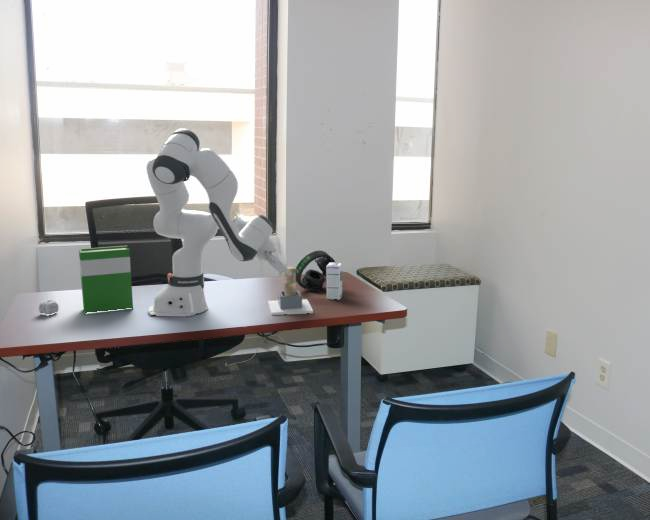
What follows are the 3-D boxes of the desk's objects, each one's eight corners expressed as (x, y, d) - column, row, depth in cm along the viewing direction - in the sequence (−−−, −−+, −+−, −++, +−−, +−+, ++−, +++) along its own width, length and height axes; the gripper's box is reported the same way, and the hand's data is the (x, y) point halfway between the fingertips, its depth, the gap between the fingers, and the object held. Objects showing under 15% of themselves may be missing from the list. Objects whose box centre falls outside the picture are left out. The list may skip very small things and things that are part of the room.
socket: (271, 315, 237) (271, 300, 235) (268, 303, 252) (267, 288, 251) (313, 313, 239) (313, 298, 238) (307, 301, 255) (307, 287, 253)
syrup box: (340, 300, 257) (340, 265, 254) (325, 299, 258) (326, 265, 255) (342, 296, 263) (342, 262, 260) (328, 295, 264) (328, 262, 261)
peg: (285, 299, 242) (285, 269, 239) (284, 296, 246) (284, 266, 243) (295, 298, 243) (295, 268, 240) (294, 296, 246) (294, 266, 244)
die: (59, 313, 237) (58, 300, 236) (48, 317, 233) (47, 304, 232) (50, 311, 240) (49, 299, 238) (39, 315, 235) (37, 302, 234)
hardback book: (130, 304, 249) (126, 245, 244) (133, 309, 243) (129, 249, 238) (83, 309, 242) (78, 249, 237) (84, 314, 236) (79, 252, 231)
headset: (330, 303, 282) (294, 286, 259) (313, 285, 290) (277, 267, 267) (355, 273, 280) (322, 253, 257) (338, 256, 288) (303, 235, 265)
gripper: (272, 248, 228) (299, 273, 232) (268, 238, 248) (292, 261, 252) (260, 260, 229) (287, 285, 232) (257, 249, 248) (282, 272, 252)
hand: (290, 273), depth 242 cm, fingers closed on peg, 4 cm apart
